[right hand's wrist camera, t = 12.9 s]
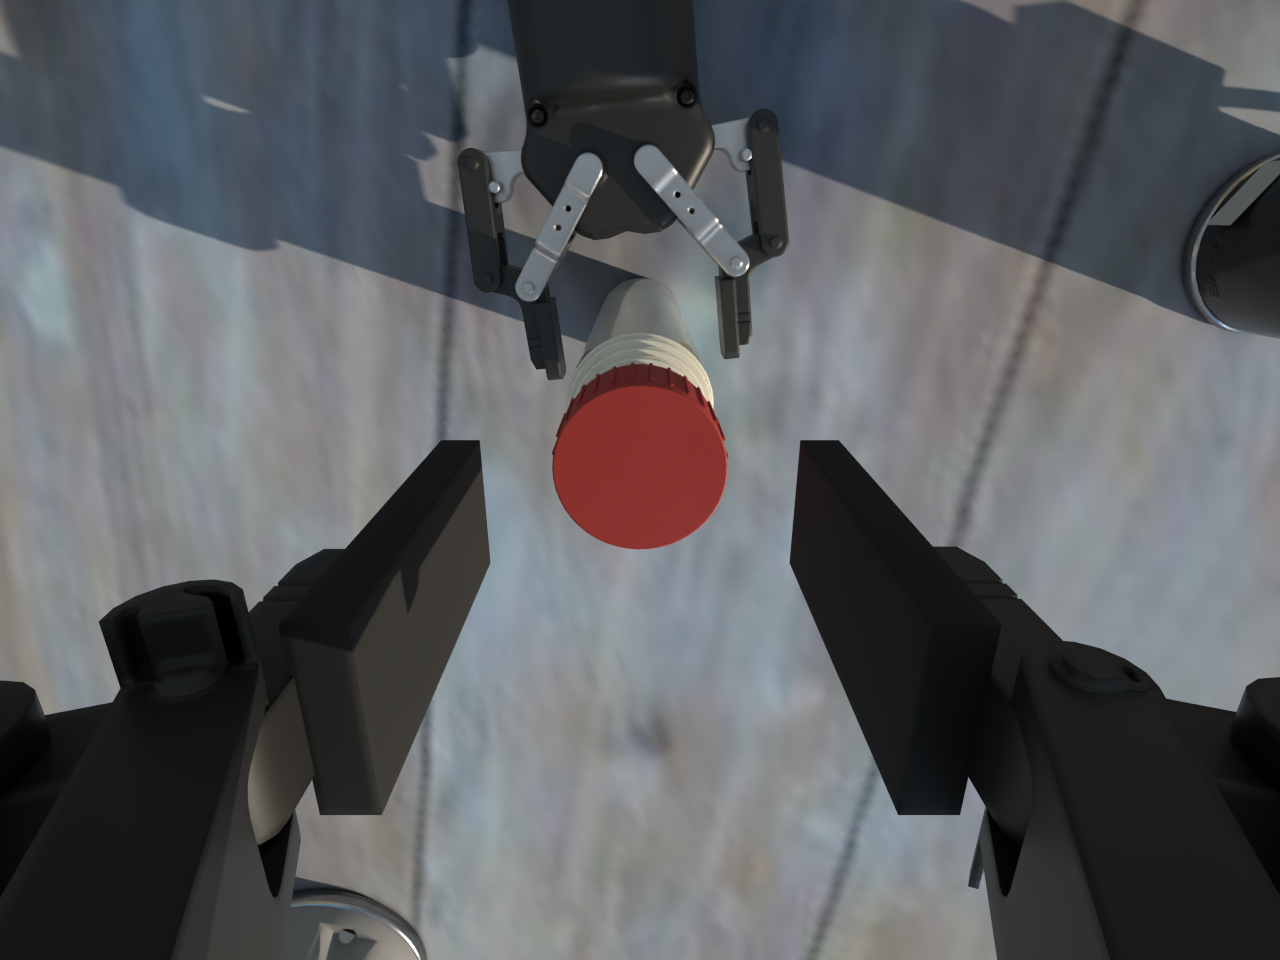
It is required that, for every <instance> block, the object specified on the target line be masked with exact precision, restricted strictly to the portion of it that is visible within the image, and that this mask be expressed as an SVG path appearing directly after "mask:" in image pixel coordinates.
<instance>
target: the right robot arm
mask: <svg viewBox="0 0 1280 960" xmlns="http://www.w3.org/2000/svg"><path fill="white" fill-rule="evenodd" d="M489 565H490V554H489V542H488V531H487V519H486V508H485V497H484V485H483V474H482V463H481V451H480V440H441V441H440V442H439V443H438V445H437V446H436V447H435V448H434V449H433V450H432V451H431V453H430V454H429V455H428V456H427V457H426V458H425V459H424V460H423V462H422V463H421V464H420V465H419V466H418V467H417V468H416V469H415V471H414V472H413V473H412V474H411V475H410V476H409V477H408V479H407V480H406V481H405V482H404V483H403V484H402V485H401V486H400V488H399V489H398V490H397V491H396V492H395V493H394V494H393V496H392V497H391V498H390V499H389V500H388V501H387V502H386V503H385V505H384V506H383V507H382V508H381V509H380V510H379V511H378V512H377V514H376V515H375V516H374V517H373V518H372V519H371V520H370V522H369V523H368V524H367V525H366V526H365V527H364V528H363V529H362V531H361V532H360V533H359V534H358V535H357V536H356V537H355V538H354V540H353V541H352V542H351V543H350V544H349V545H348V546H347V548H346V549H323V550H322V551H320V552H318V553H316V554H314V555H312V556H311V557H309V558H307V559H305V560H303V561H301V562H300V563H298V564H296V565H295V566H294V567H293V568H292V569H291V570H290V571H289V572H288V573H287V574H286V575H285V576H284V577H283V578H282V579H281V580H280V581H279V582H278V586H274V587H273V588H272V589H271V590H270V591H269V592H268V593H267V594H266V595H265V596H264V597H263V602H258V603H257V604H256V605H255V607H254V608H253V609H252V610H251V611H250V612H249V613H248V609H247V605H246V601H245V596H244V592H243V589H241V588H240V587H238V586H237V585H235V584H234V583H232V582H226V581H220V580H198V581H187V582H183V583H178V584H173V585H168V586H164V587H160V588H158V589H155V590H152V591H149V592H146V593H143V594H141V595H138V596H135V597H133V598H132V599H130V600H128V601H126V602H124V603H122V604H121V605H119V606H117V607H115V608H113V609H112V610H111V611H110V612H109V613H108V614H107V615H106V616H104V617H103V618H102V619H101V620H100V621H99V624H100V627H101V630H102V633H103V636H104V639H105V642H106V645H107V648H108V651H109V654H110V657H111V660H112V663H113V666H114V669H115V672H116V675H117V678H118V681H119V684H120V688H121V689H120V690H119V692H118V694H117V696H116V697H115V699H114V701H113V702H111V703H107V704H102V705H96V706H91V707H86V708H81V709H75V710H70V711H65V712H60V713H54V714H49V715H44V712H43V710H42V707H41V705H40V702H39V699H38V697H37V694H36V692H35V690H34V689H33V688H31V687H30V686H28V685H27V684H25V683H24V682H13V681H0V960H427V957H426V952H425V948H424V945H423V943H422V941H421V939H420V937H419V936H418V934H417V933H416V931H415V930H414V929H413V928H412V926H411V925H410V924H409V923H408V922H407V921H406V920H404V919H403V918H402V917H401V916H400V915H398V914H397V913H396V912H394V911H393V910H391V909H389V908H388V907H386V906H384V905H382V904H380V903H378V902H376V901H374V900H371V899H369V898H366V897H363V896H360V895H356V894H352V893H348V892H342V891H335V890H305V891H298V892H293V888H294V882H295V875H296V868H297V861H298V855H299V848H300V841H301V838H300V831H299V824H298V820H297V815H296V811H295V808H296V806H297V804H298V803H299V801H300V799H301V798H302V796H303V794H304V792H305V791H306V789H307V787H308V786H309V784H310V782H311V780H313V785H314V789H315V794H316V798H317V803H318V807H319V812H320V815H382V813H383V811H384V809H385V806H386V804H387V802H388V799H389V797H390V795H391V792H392V790H393V788H394V785H395V783H396V781H397V778H398V776H399V774H400V771H401V769H402V767H403V764H404V762H405V760H406V757H407V755H408V753H409V750H410V748H411V746H412V744H413V741H414V739H415V737H416V734H417V732H418V730H419V727H420V725H421V723H422V720H423V718H424V716H425V713H426V711H427V709H428V706H429V704H430V702H431V699H432V697H433V695H434V692H435V690H436V688H437V686H438V683H439V681H440V679H441V676H442V674H443V672H444V669H445V667H446V665H447V662H448V660H449V658H450V655H451V653H452V651H453V648H454V646H455V644H456V641H457V639H458V637H459V634H460V632H461V630H462V628H463V625H464V623H465V621H466V618H467V616H468V614H469V611H470V609H471V607H472V604H473V602H474V600H475V597H476V595H477V593H478V590H479V588H480V586H481V583H482V581H483V579H484V576H485V574H486V572H487V570H488V567H489ZM790 565H791V567H792V570H793V572H794V574H795V576H796V579H797V581H798V583H799V586H800V588H801V590H802V593H803V595H804V597H805V600H806V602H807V604H808V607H809V609H810V611H811V614H812V616H813V618H814V621H815V623H816V625H817V628H818V630H819V632H820V634H821V637H822V639H823V641H824V644H825V646H826V648H827V651H828V653H829V655H830V658H831V660H832V662H833V665H834V667H835V669H836V672H837V674H838V676H839V679H840V681H841V683H842V686H843V688H844V690H845V692H846V695H847V697H848V699H849V702H850V704H851V706H852V709H853V711H854V713H855V716H856V718H857V720H858V723H859V725H860V727H861V730H862V732H863V734H864V737H865V739H866V741H867V744H868V746H869V748H870V750H871V753H872V755H873V757H874V760H875V762H876V764H877V767H878V769H879V771H880V774H881V776H882V778H883V781H884V783H885V785H886V788H887V790H888V792H889V795H890V797H891V799H892V802H893V804H894V806H895V809H896V811H897V813H898V815H960V812H961V807H962V803H963V798H964V794H965V789H966V785H967V780H968V777H969V778H970V780H971V782H972V784H973V785H974V787H975V789H976V790H977V792H978V794H979V796H980V797H981V799H982V801H983V802H984V804H985V806H986V807H985V811H984V815H983V820H982V824H981V828H980V832H979V836H978V841H977V845H976V849H975V853H974V858H973V862H972V866H971V870H970V877H969V884H968V886H969V887H973V888H976V889H978V888H979V884H980V880H981V876H982V873H983V872H984V873H985V880H986V887H987V893H988V900H989V907H990V914H991V920H992V927H993V934H994V940H995V947H996V954H997V960H1280V677H1276V678H1263V679H1257V680H1255V681H1254V682H1252V683H1251V684H1249V685H1248V686H1246V689H1245V692H1244V694H1243V697H1242V699H1241V702H1240V705H1239V707H1238V710H1237V712H1233V711H1228V710H1222V709H1217V708H1212V707H1207V706H1201V705H1196V704H1191V703H1185V702H1180V701H1175V700H1170V699H1166V698H1165V696H1164V694H1163V693H1162V691H1161V689H1160V687H1159V686H1158V685H1157V684H1156V683H1155V682H1154V681H1153V680H1152V679H1151V677H1150V676H1149V675H1148V674H1147V673H1146V672H1144V671H1143V670H1141V669H1140V668H1138V667H1137V666H1135V665H1134V664H1132V663H1131V662H1129V661H1127V660H1126V659H1124V658H1122V657H1119V656H1117V655H1115V654H1112V653H1110V652H1107V651H1105V650H1103V649H1100V648H1097V647H1093V646H1089V645H1085V644H1080V643H1076V642H1068V641H1063V640H1062V639H1061V638H1060V637H1059V636H1058V635H1057V634H1056V633H1055V632H1054V631H1053V630H1052V629H1051V628H1050V627H1049V626H1048V625H1047V624H1046V623H1045V622H1044V621H1043V620H1042V619H1041V618H1040V617H1039V616H1038V615H1037V614H1036V613H1035V612H1034V611H1033V610H1032V609H1031V608H1030V607H1029V606H1028V605H1027V604H1026V603H1025V602H1024V601H1023V600H1022V599H1018V598H1017V594H1016V593H1015V592H1014V591H1013V590H1012V589H1011V588H1010V587H1009V586H1008V585H1007V584H1003V583H1002V579H1001V578H1000V577H999V576H998V575H997V574H996V573H995V572H994V571H993V570H992V569H991V568H990V567H989V566H988V565H987V564H986V563H985V562H984V561H982V560H980V559H978V558H976V557H974V556H972V555H971V554H969V553H967V552H965V551H963V550H961V549H960V548H958V547H933V546H932V545H931V544H930V543H929V542H928V541H927V540H926V538H925V537H924V536H923V535H922V534H921V533H920V532H919V531H918V529H917V528H916V527H915V526H914V525H913V524H912V523H911V522H910V520H909V519H908V518H907V517H906V516H905V515H904V514H903V512H902V511H901V510H900V509H899V508H898V507H897V506H896V505H895V503H894V502H893V501H892V500H891V499H890V498H889V497H888V496H887V494H886V493H885V492H884V491H883V490H882V489H881V488H880V486H879V485H878V484H877V483H876V482H875V481H874V480H873V479H872V477H871V476H870V475H869V474H868V473H867V472H866V471H865V469H864V468H863V467H862V466H861V465H860V464H859V463H858V462H857V460H856V459H855V458H854V457H853V456H852V455H851V454H850V453H849V451H848V450H847V449H846V448H845V447H844V446H843V445H842V443H841V442H840V441H839V440H800V451H799V463H798V474H797V485H796V497H795V508H794V519H793V531H792V542H791V554H790Z"/></svg>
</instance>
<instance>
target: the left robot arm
mask: <svg viewBox="0 0 1280 960" xmlns="http://www.w3.org/2000/svg"><path fill="white" fill-rule="evenodd" d="M508 6H509V12H510V18H511V25H512V31H513V37H514V44H515V50H516V56H517V63H518V69H519V75H520V82H521V88H522V95H523V101H524V107H525V114H526V121H527V130H526V137H525V142H524V145H523V148H522V150H510V151H494V152H484V151H481V150H478V149H474V148H468V149H465V150H464V151H462V152H461V154H460V155H459V158H458V167H459V174H460V182H461V189H462V196H463V204H464V211H465V218H466V225H467V233H468V240H469V247H470V254H471V262H472V269H473V276H474V282H475V284H476V286H477V287H478V288H479V289H480V290H481V291H484V292H495V293H500V294H504V295H508V296H511V297H513V298H514V299H516V300H517V301H518V302H519V304H520V305H521V308H522V312H523V318H524V323H525V329H526V335H527V339H528V346H529V352H530V358H531V361H532V362H533V364H534V366H535V367H536V369H546V373H547V378H548V380H556V379H563V378H564V376H565V373H566V364H565V357H564V351H563V345H562V338H561V332H560V326H559V319H558V313H557V306H556V300H555V297H550V293H549V285H550V283H551V281H552V279H553V277H554V275H555V273H556V271H557V269H558V267H559V266H560V264H561V262H562V260H563V258H564V257H565V255H566V253H567V252H568V250H569V248H570V246H571V244H572V242H573V240H574V238H575V237H576V235H577V233H578V234H580V235H582V236H584V237H587V238H591V239H593V240H598V239H606V238H611V237H613V236H616V235H618V234H620V233H623V232H625V231H631V232H637V233H643V234H646V233H654V232H662V230H664V229H666V228H667V227H669V226H670V225H671V224H673V223H674V222H675V221H676V219H677V220H678V222H679V223H680V224H681V225H682V226H683V227H684V228H685V229H686V231H687V232H688V233H689V234H690V235H691V236H692V237H693V238H694V239H695V241H696V242H697V243H698V244H699V245H700V246H701V247H702V248H703V249H704V251H705V252H706V253H707V254H708V255H709V256H710V257H711V258H712V260H713V261H714V262H715V263H716V264H717V265H718V266H719V276H716V277H715V285H716V298H717V312H718V325H719V338H720V349H721V354H722V356H723V358H724V359H731V358H739V345H745V344H749V341H750V338H751V335H752V323H751V306H750V288H749V278H750V274H751V272H752V271H753V269H754V268H755V267H756V266H758V265H759V264H761V263H763V262H765V261H767V260H769V259H771V258H773V257H777V256H780V255H782V254H783V253H784V252H785V251H786V250H787V248H788V245H789V236H788V226H787V215H786V205H785V194H784V184H783V174H782V163H781V153H780V142H779V132H778V122H777V118H776V116H775V114H774V113H773V112H772V111H771V110H768V109H760V110H758V111H756V112H755V113H754V114H753V115H752V116H750V117H748V118H744V119H739V120H734V121H729V122H724V123H719V124H714V125H711V124H710V123H709V121H708V119H707V118H706V116H705V114H704V112H703V109H702V106H701V102H700V96H699V84H698V71H697V57H696V44H695V31H694V18H693V5H692V0H508ZM714 149H718V150H721V151H723V152H724V153H725V154H726V155H727V157H728V160H729V163H730V166H731V167H732V168H733V169H734V170H735V171H738V172H745V171H746V180H747V188H748V197H749V206H750V215H751V224H752V233H753V234H752V235H750V236H748V237H746V238H745V239H743V240H741V241H739V242H736V240H735V239H734V238H733V237H732V236H731V235H730V234H729V232H728V231H727V230H726V229H725V228H724V227H723V225H722V224H721V223H720V221H719V220H718V218H717V217H716V216H715V215H714V214H713V212H712V211H711V210H710V209H709V208H708V207H707V206H706V204H705V203H704V202H703V201H702V200H701V199H700V197H699V196H698V195H697V194H696V193H695V192H694V190H693V189H694V187H695V185H696V183H697V182H698V180H699V178H700V176H701V174H702V172H703V171H704V169H705V167H706V165H707V163H708V161H709V159H710V158H711V156H712V153H713V151H714ZM522 174H525V175H526V177H527V178H528V179H529V181H530V182H531V183H532V184H533V185H534V186H535V187H536V188H537V189H538V191H539V192H540V193H541V194H542V195H543V196H544V197H545V198H546V200H547V201H548V202H549V203H550V204H551V205H552V206H553V208H552V210H551V212H550V214H549V216H548V218H547V219H546V221H545V223H544V225H543V227H542V229H541V231H540V233H539V235H538V237H537V239H536V242H535V244H534V248H533V250H532V252H531V254H530V256H529V258H528V260H527V262H526V264H525V266H524V268H519V267H515V266H511V265H509V263H508V255H507V247H506V238H505V230H504V222H503V213H502V205H501V203H503V202H507V201H509V200H510V199H511V198H512V196H513V193H514V184H515V181H516V179H517V178H518V177H519V176H520V175H522ZM689 211H690V212H689ZM1183 278H1184V284H1185V289H1186V292H1187V295H1188V298H1189V300H1190V302H1191V304H1192V305H1193V307H1194V308H1195V310H1196V311H1197V312H1198V313H1199V314H1200V315H1201V316H1202V317H1203V318H1204V319H1205V320H1206V321H1208V322H1209V323H1211V324H1213V325H1214V326H1216V327H1219V328H1221V329H1224V330H1228V331H1232V332H1237V333H1242V334H1249V335H1263V336H1268V337H1273V338H1278V339H1280V152H1278V153H1274V154H1271V155H1269V156H1266V157H1264V158H1262V159H1259V160H1257V161H1255V162H1253V163H1252V164H1250V165H1248V166H1246V167H1245V168H1244V169H1242V170H1241V171H1239V172H1238V173H1236V174H1235V175H1234V176H1233V177H1231V178H1230V179H1229V180H1228V181H1227V182H1226V183H1225V184H1223V185H1222V186H1221V187H1220V188H1219V190H1218V191H1217V192H1216V193H1215V194H1214V195H1213V196H1212V198H1211V199H1210V200H1209V201H1208V203H1207V204H1206V205H1205V207H1204V208H1203V210H1202V211H1201V213H1200V215H1199V216H1198V218H1197V220H1196V222H1195V224H1194V226H1193V228H1192V230H1191V233H1190V235H1189V238H1188V242H1187V245H1186V249H1185V254H1184V261H1183Z"/></svg>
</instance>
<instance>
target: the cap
mask: <svg viewBox="0 0 1280 960" xmlns="http://www.w3.org/2000/svg"><path fill="white" fill-rule="evenodd" d="M556 437H558V438H557V441H556V444H555V446H554V449H553V452H552V455H553V467H552V470H553V480H554V484H555V488H556V492H557V494H558V497H559V499H560V501H561V503H562V505H563V507H564V509H565V510H566V511H567V513H568V514H569V516H570V517H571V518H572V519H573V520H574V521H575V522H576V523H577V524H578V525H579V526H580V527H581V528H582V529H583V530H585V531H586V532H587V533H589V534H590V535H592V536H593V537H595V538H597V539H599V540H601V541H603V542H605V543H608V544H611V545H614V546H618V547H623V548H628V549H651V548H658V547H662V546H666V545H669V544H672V543H674V542H677V541H679V540H681V539H683V538H685V537H687V536H688V535H690V534H691V533H693V532H694V531H695V530H697V529H698V528H699V527H700V526H701V525H702V524H703V523H704V522H705V521H706V520H707V519H708V518H709V517H710V516H711V514H712V513H713V512H714V510H715V508H716V507H717V505H718V503H719V501H720V499H721V497H722V494H723V492H724V488H725V485H726V479H727V459H728V454H727V452H726V449H725V446H724V442H723V441H724V440H725V437H724V435H723V432H722V429H721V427H720V424H719V421H718V419H717V417H716V415H715V413H714V410H713V407H712V405H711V402H710V401H708V402H707V400H706V399H705V397H704V396H703V394H702V392H701V389H700V388H699V387H697V388H696V387H695V386H694V385H693V384H692V383H691V382H690V381H689V380H688V379H687V376H685V375H684V376H681V375H679V374H678V373H676V372H674V371H672V370H671V368H669V367H668V368H667V369H666V368H663V367H659V366H655V365H653V363H649V365H647V364H634V363H631V365H626V366H620V367H617V368H616V366H614V367H613V369H611V370H609V371H607V372H604V373H602V374H599V373H598V374H597V375H596V377H595V378H594V379H593V380H591V381H590V382H589V383H588V384H587V385H585V384H584V385H583V386H582V388H581V391H580V392H579V393H578V394H577V396H576V397H575V399H574V398H572V399H571V401H570V404H569V407H568V409H567V412H566V413H564V416H563V419H562V421H561V424H560V426H559V429H558V432H557V434H556Z"/></svg>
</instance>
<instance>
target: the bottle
mask: <svg viewBox="0 0 1280 960" xmlns="http://www.w3.org/2000/svg"><path fill="white" fill-rule="evenodd" d="M631 363H634V364H647V365H649V363H653V365H655V366H659V367H663V368H666V369H667V368H668V367H669V368H671V370H672V371H674V372H676V373H678V374H679V375H681V376H684V375H685V376H687V379H688V380H689V381H690V382H691V383H692V384H693V385H694V386H695V387H696V388H697V387H699V388H700V389H701V392H702V394H703V396H704V397H705V399H706V400H707V402H708V401H710V402H711V405H712V407H713V392H712V388H711V384H710V381H709V378H708V376H707V373H706V371H705V369H704V366H703V364H702V362H701V359H700V357H699V354H698V352H697V350H696V347H695V345H694V343H693V340H692V338H691V335H690V333H689V331H688V328H687V326H686V324H685V321H684V319H683V317H682V314H681V312H680V309H679V307H678V305H677V302H676V300H675V298H674V297H673V295H672V294H671V292H670V291H669V290H668V289H667V288H666V287H664V286H663V285H662V284H660V283H658V282H656V281H654V280H651V279H647V278H634V279H629V280H626V281H624V282H622V283H620V284H618V285H617V286H616V287H614V288H613V289H612V290H611V291H610V292H609V294H608V295H607V297H606V298H605V300H604V302H603V304H602V307H601V309H600V312H599V314H598V316H597V319H596V321H595V323H594V326H593V328H592V331H591V333H590V335H589V338H588V340H587V342H586V345H585V347H584V350H583V352H582V354H581V357H580V359H579V361H578V364H577V366H576V368H575V371H574V373H573V376H572V378H571V381H570V384H569V387H568V393H567V403H566V406H567V409H568V407H569V404H570V401H571V399H572V398H574V399H575V397H576V396H577V394H578V393H579V392H580V391H581V388H582V386H583V385H584V384H585V385H587V384H588V383H589V382H590V381H591V380H593V379H594V378H595V377H596V375H597V374H598V373H599V374H602V373H604V372H607V371H609V370H611V369H613V367H614V366H616V368H617V367H620V366H626V365H631Z"/></svg>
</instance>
